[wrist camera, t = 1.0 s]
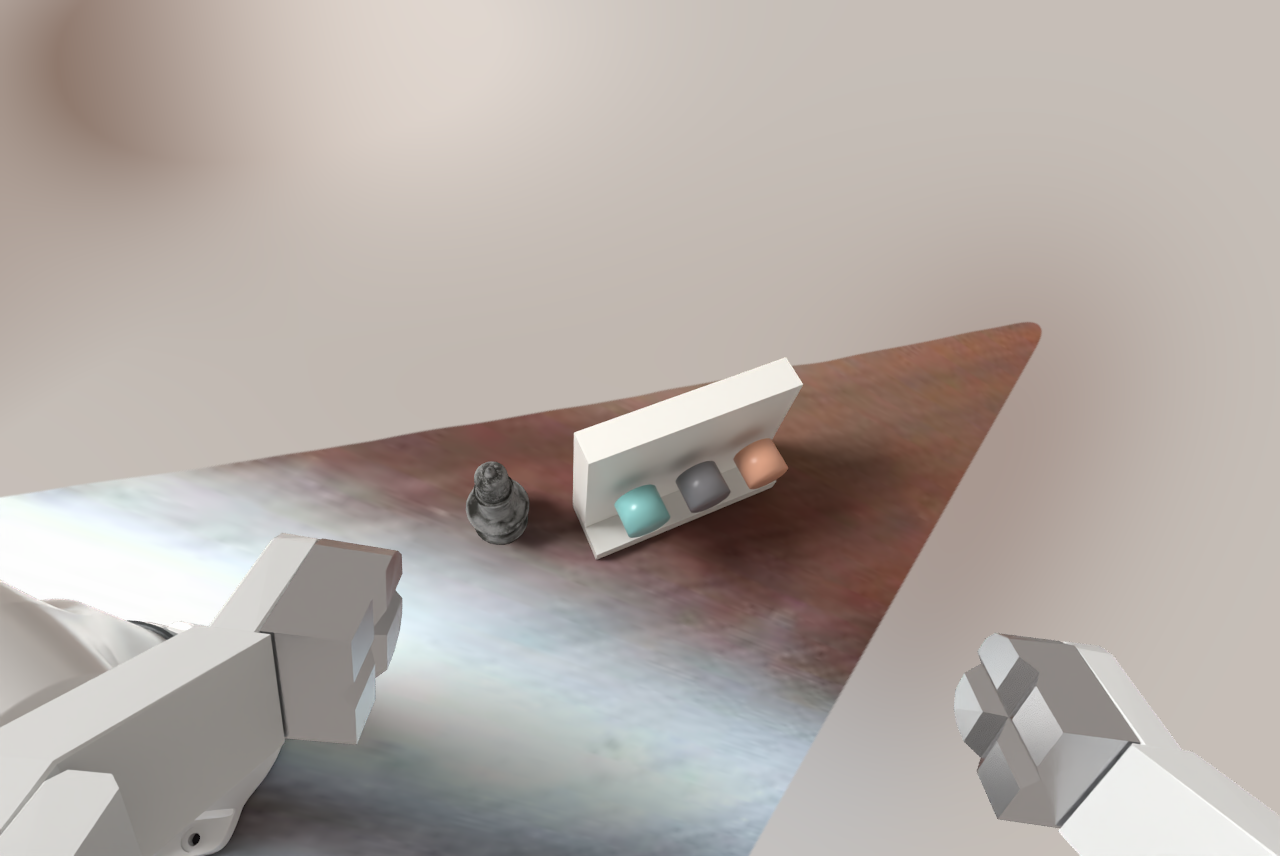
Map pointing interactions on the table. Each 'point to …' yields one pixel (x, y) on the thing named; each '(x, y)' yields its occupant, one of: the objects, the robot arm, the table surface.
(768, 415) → the console
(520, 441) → the table surface
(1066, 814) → the robot arm
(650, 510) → the teal button
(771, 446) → the terracotta button
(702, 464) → the charcoal button
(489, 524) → the grey stone chess piece
